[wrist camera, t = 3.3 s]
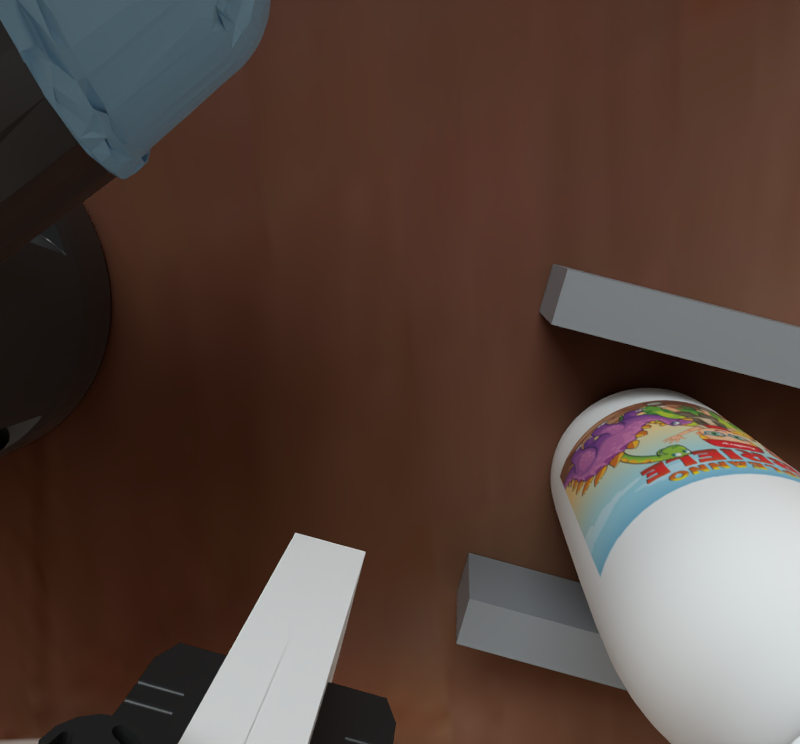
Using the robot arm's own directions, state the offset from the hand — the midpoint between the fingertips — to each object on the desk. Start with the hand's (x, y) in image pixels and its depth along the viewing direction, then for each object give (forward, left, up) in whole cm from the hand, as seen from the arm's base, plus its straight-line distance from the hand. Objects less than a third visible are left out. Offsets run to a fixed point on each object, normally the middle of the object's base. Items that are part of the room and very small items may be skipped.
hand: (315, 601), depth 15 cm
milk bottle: (+11, 0, -16) cm, 19 cm away
